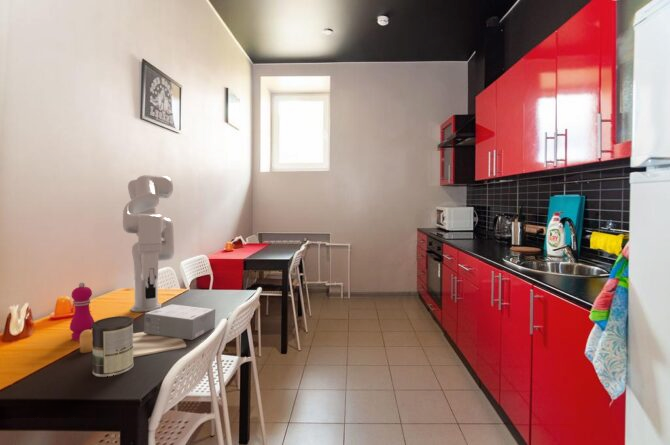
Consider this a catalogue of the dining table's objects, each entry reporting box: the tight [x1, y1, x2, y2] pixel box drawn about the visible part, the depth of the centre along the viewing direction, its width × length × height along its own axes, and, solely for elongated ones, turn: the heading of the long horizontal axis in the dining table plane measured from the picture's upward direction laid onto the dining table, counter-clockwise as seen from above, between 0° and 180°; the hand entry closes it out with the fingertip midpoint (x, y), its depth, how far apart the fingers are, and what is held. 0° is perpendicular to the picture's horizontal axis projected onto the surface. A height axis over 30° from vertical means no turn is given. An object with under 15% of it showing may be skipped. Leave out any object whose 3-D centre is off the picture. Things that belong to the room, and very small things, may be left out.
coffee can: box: [91, 315, 134, 378], centre depth 102 cm, size 10×10×14 cm
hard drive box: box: [143, 303, 216, 341], centre depth 133 cm, size 16×8×20 cm
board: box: [133, 331, 187, 358], centre depth 123 cm, size 22×18×1 cm
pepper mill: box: [69, 282, 95, 341], centre depth 126 cm, size 7×7×20 cm
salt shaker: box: [79, 329, 93, 354], centre depth 115 cm, size 4×4×7 cm
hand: (150, 297), depth 129 cm, fingers closed
